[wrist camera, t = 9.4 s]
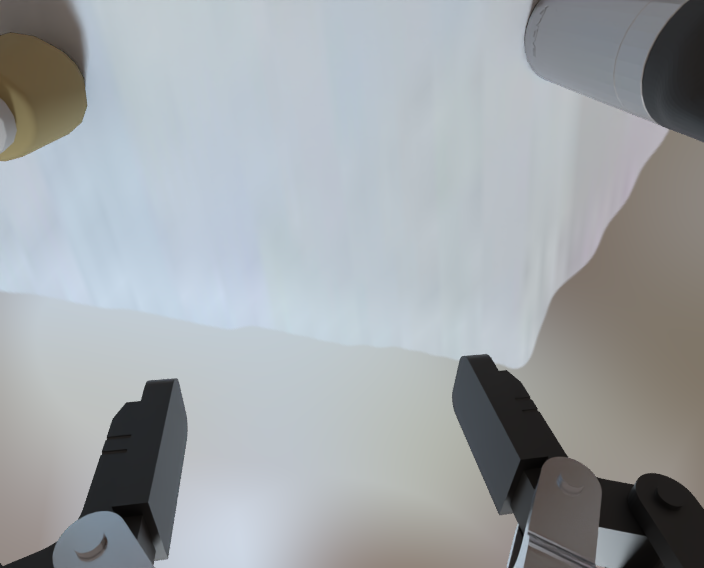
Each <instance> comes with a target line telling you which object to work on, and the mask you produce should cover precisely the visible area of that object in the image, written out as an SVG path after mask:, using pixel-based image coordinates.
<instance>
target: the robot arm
mask: <svg viewBox="0 0 704 568" xmlns="http://www.w3.org/2000/svg"><path fill="white" fill-rule="evenodd" d="M525 53H526V56H527V60H528V63H529V64H530V66H531V68H532V70H533V71H534V72H535V73H536V74H537V75H538V76H540V77H541V78H543V79H545V80H547V81H550V82H552V83H555V84H557V85H560V86H562V87H564V88H567V89H569V90H572V91H574V92H577V93H579V94H582V95H584V96H587V97H589V98H592V99H594V100H597V101H600V102H602V103H605V104H607V105H610V106H612V107H615V108H617V109H620V110H622V111H625V112H627V113H630V114H632V115H635V116H637V117H641V118H643V119H646V120H648V121H651V122H653V123H656V124H658V125H661V126H663V127H665V128H668V129H670V130H673V131H676V132H679V133H681V134H684V135H687V136H689V137H692V138H694V139H697V140H699V141H702V142H704V0H540V1H539V2H538V4H537V5H536V7H535V8H534V10H533V13H532V15H531V17H530V19H529V22H528V25H527V29H526V35H525ZM452 402H453V407H454V411H455V414H456V416H457V419H458V421H459V423H460V425H461V428H462V430H463V432H464V435H465V437H466V439H467V442H468V444H469V446H470V449H471V451H472V453H473V456H474V458H475V460H476V463H477V465H478V467H479V469H480V472H481V474H482V476H483V479H484V481H485V483H486V486H487V488H488V490H489V493H490V495H491V497H492V499H493V502H494V504H495V506H496V509H497V511H498V513H499V515H504V514H512V513H514V515H515V518H516V520H517V522H518V525H517V527H516V531H515V534H514V538H513V542H512V546H511V551H510V554H509V559H508V563H507V567H506V568H596V565H597V566H601V567H605V568H704V509H703V508H702V506H701V505H700V504H699V502H698V501H697V500H696V498H695V497H694V496H693V495H692V494H691V492H690V491H689V490H688V489H687V488H685V487H684V486H683V485H681V484H680V483H679V482H677V481H675V480H673V479H671V478H669V477H667V476H664V475H661V474H656V473H648V474H644V475H642V476H640V477H639V478H638V480H637V481H636V483H635V484H634V485H633V484H627V483H622V482H616V481H610V480H605V479H601V478H598V477H596V476H595V475H594V474H593V472H592V471H591V470H590V469H589V468H587V467H586V466H585V465H583V464H582V463H580V462H578V461H576V460H574V459H571V458H568V456H567V455H566V453H565V452H564V450H563V449H562V447H561V445H560V444H559V442H558V441H557V439H556V437H555V436H554V434H553V433H552V431H551V429H550V428H549V426H548V425H547V423H546V421H545V420H544V418H543V417H542V415H541V413H540V412H538V411H537V407H536V405H535V404H534V402H533V401H532V400H531V399H530V396H529V394H528V393H527V391H526V389H525V388H524V386H523V385H522V383H521V382H520V381H519V380H518V379H516V378H515V377H514V376H513V375H512V374H510V373H509V372H508V371H507V370H505V371H498V369H497V367H496V365H495V364H494V362H493V360H492V359H491V357H490V356H489V355H487V354H483V355H470V356H462V357H461V358H460V361H459V366H458V370H457V375H456V379H455V383H454V388H453V392H452ZM186 441H187V416H186V411H185V407H184V403H183V398H182V394H181V390H180V385H179V382H178V379H163V380H151V381H147V382H146V385H145V388H144V391H143V395H142V399H141V401H138V402H127V403H126V404H125V405H124V406H123V407H122V408H121V410H120V411H119V412H118V413H117V414H116V416H115V417H114V418H113V420H112V423H111V426H110V429H109V432H108V435H107V440H106V441H105V444H104V447H103V450H102V455H101V456H100V459H99V462H98V465H97V468H96V471H95V474H94V477H93V480H92V483H91V486H90V489H89V492H88V496H87V498H86V501H85V504H84V508H83V510H82V513H81V515H80V517H79V519H78V520H77V521H75V522H74V523H73V524H72V525H70V526H69V527H68V528H67V529H66V530H65V531H64V533H63V534H62V535H61V537H60V538H59V540H58V541H57V542H56V543H54V544H52V545H51V546H49V547H47V548H45V549H43V550H41V551H39V552H36V553H34V554H31V555H29V556H27V557H24V558H22V559H19V560H17V561H14V562H12V563H10V564H7V565H5V566H2V565H1V563H0V568H155V567H154V566H153V564H154V561H158V560H165V559H168V555H169V548H170V542H171V536H172V529H173V524H174V517H175V511H176V505H177V497H178V492H179V485H180V479H181V473H182V466H183V460H184V454H185V448H186Z"/></svg>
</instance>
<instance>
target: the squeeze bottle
mask: <svg viewBox="0 0 704 568" xmlns="http://www.w3.org/2000/svg"><path fill="white" fill-rule="evenodd" d="M86 108H87V99H86V91H85V84H84V78H83V76H82V74H81V72H80V71H79V69H78V67H77V65H76V64H75V63H74V62H73V61H72V60H71V59H70V58H69V57H68V56H67V55H66V54H65V53H64V52H62V51H61V50H59V49H57V48H56V47H54V46H52V45H50V44H48V43H46V42H44V41H42V40H41V39H39V38H37V37H35V36H31V35H24V34H18V33H11V32H10V33H7V34H3V35H0V161H9V160H12V159H16V158H19V157H23V156H25V155H27V154H29V153H31V152H33V151H35V150H37V149H39V148H41V147H43V146H45V145H47V144H49V143H51V142H53V141H55V140H57V139H59V138H61V137H63V136H66V135H68V134H69V133H70V132H72V131H73V130H74V129H75V128H76V127H77V126H78V125H79V124H80V123H81V122H82V120H83V117H84V114H85V111H86Z"/></svg>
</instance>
